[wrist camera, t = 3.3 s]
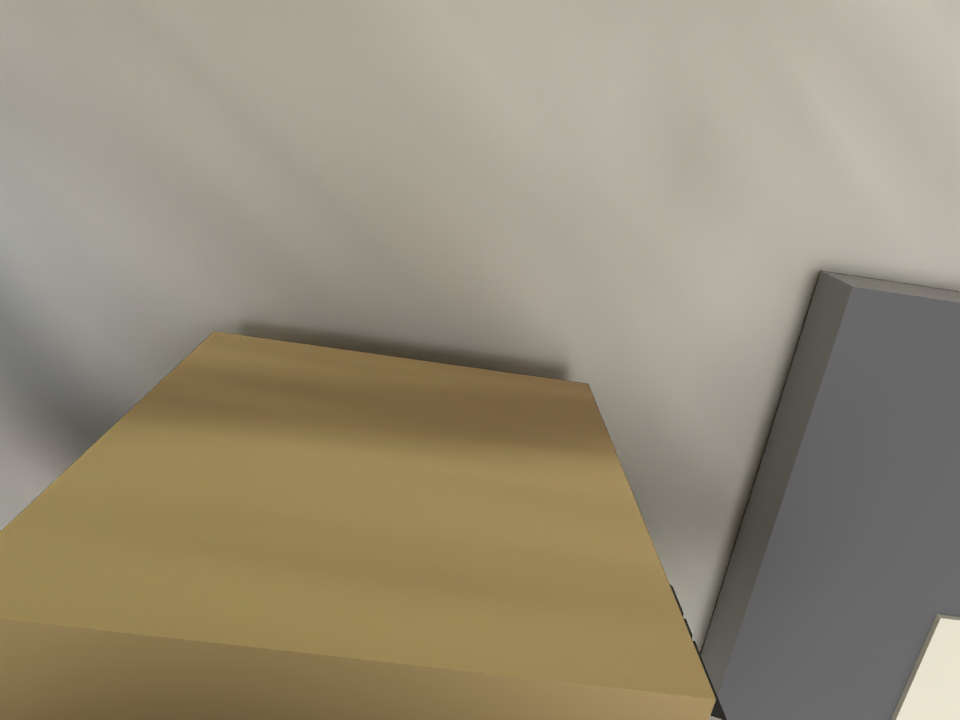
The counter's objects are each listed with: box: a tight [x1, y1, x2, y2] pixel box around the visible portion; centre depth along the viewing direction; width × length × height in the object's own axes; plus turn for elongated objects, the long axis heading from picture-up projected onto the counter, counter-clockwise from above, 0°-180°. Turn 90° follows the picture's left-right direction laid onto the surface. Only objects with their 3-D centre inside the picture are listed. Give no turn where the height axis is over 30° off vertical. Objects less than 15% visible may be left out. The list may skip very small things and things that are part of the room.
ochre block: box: [0, 331, 716, 720], centre depth 9 cm, size 6×6×6 cm
